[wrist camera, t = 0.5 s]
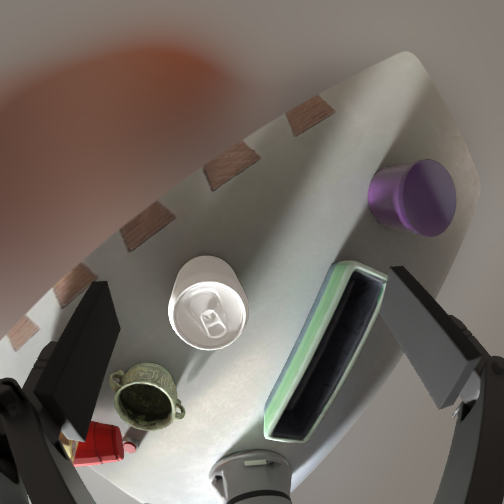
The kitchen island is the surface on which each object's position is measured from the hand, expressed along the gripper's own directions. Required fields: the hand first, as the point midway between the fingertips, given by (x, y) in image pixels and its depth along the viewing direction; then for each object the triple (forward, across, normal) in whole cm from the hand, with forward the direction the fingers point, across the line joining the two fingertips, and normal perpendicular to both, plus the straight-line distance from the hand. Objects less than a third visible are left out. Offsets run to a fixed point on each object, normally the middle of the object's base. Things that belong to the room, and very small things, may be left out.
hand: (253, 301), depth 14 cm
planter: (+22, -11, +24) cm, 34 cm away
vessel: (+19, +14, +28) cm, 36 cm away
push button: (+15, +20, +40) cm, 47 cm away
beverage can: (+24, +4, +14) cm, 28 cm away
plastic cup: (+12, +20, +35) cm, 42 cm away
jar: (+29, -24, +4) cm, 38 cm away
